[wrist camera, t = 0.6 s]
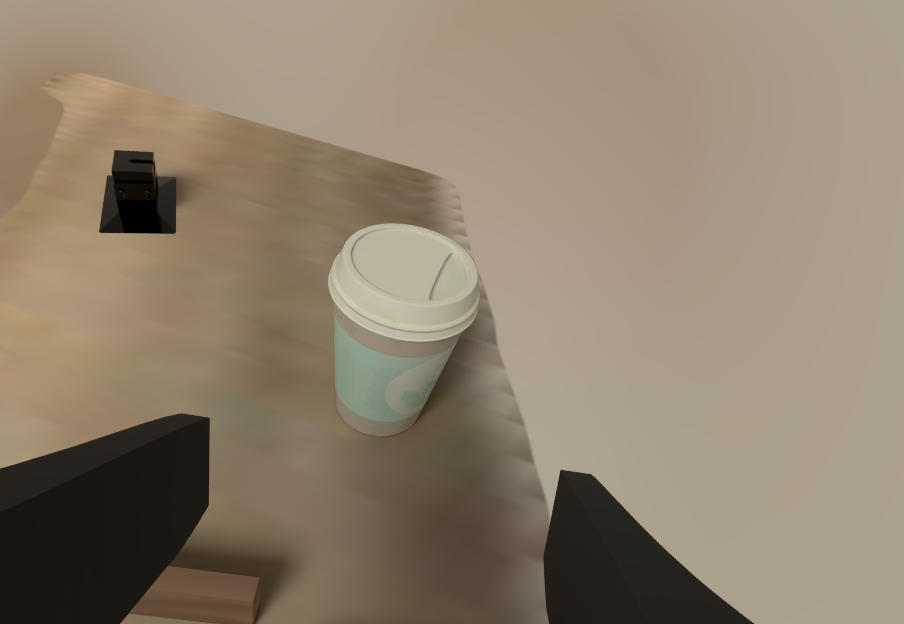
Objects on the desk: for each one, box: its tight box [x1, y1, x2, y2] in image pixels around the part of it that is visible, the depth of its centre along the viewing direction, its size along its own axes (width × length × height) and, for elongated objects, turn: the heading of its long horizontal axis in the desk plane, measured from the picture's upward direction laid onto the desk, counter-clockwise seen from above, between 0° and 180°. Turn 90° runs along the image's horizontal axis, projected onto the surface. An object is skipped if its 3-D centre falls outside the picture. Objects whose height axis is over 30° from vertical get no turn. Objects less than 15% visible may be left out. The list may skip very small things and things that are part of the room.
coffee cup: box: [328, 224, 480, 436], centre depth 32 cm, size 9×8×12 cm
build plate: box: [99, 150, 176, 234], centre depth 45 cm, size 12×7×5 cm, turn 21°
